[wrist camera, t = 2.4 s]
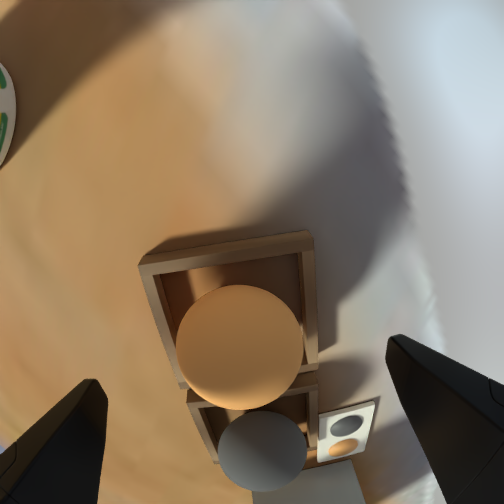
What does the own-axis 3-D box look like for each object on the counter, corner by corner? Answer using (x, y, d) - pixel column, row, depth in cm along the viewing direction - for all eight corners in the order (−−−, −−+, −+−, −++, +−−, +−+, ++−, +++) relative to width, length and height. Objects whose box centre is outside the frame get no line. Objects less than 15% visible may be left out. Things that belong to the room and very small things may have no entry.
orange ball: (294, 345, 12) (317, 422, 9) (195, 360, 12) (190, 439, 9) (285, 255, 11) (315, 322, 7) (170, 273, 11) (148, 346, 7)
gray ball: (299, 433, 15) (314, 495, 11) (225, 444, 15) (228, 507, 11) (296, 386, 13) (315, 458, 10) (209, 399, 13) (208, 473, 10)
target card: (362, 447, 16) (364, 452, 16) (316, 459, 16) (318, 464, 16) (373, 400, 15) (375, 405, 14) (318, 414, 14) (319, 420, 14)
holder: (314, 438, 15) (317, 449, 15) (214, 453, 15) (214, 464, 14) (307, 229, 11) (313, 238, 10) (143, 255, 11) (137, 265, 10)
